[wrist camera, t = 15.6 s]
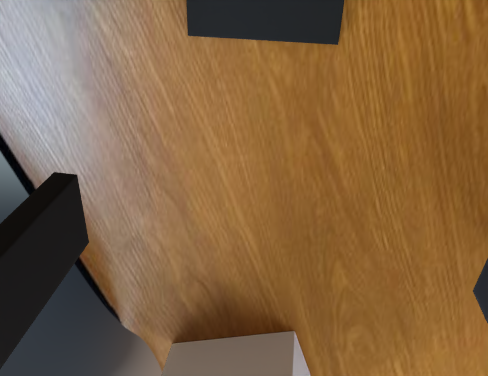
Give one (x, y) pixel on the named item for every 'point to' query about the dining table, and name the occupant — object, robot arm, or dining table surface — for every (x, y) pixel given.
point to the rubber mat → (267, 20)
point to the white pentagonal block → (238, 357)
